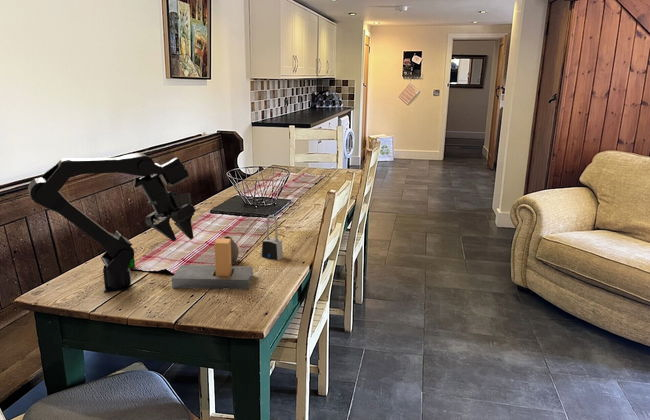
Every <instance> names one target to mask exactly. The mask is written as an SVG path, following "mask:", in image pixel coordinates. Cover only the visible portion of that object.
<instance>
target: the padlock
mask: <svg viewBox="0 0 650 420" xmlns="http://www.w3.org/2000/svg"><path fill="white" fill-rule="evenodd" d="M270 218H273V219H274V223H275V224H274V225H275V237H274V238H273V237H270ZM261 244H262V245H261V255H260V257H261V258H263V259H267V260H271V261H272V260H273V261H280V260H281V259H283V258H284V253H283V252H284V251H283V240H280V239H278V219H277V217H276V216H274V215H273V214H270V215H268V216H267V217H266V238H265V239H263V240H261Z"/></svg>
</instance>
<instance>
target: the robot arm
mask: <svg viewBox="0 0 650 420" xmlns="http://www.w3.org/2000/svg"><path fill="white" fill-rule="evenodd" d="M116 173H117V174H119V173H120V174H126V175H131V176H136V177H133V183H132V187H133V188H138V187H139V186H140V187H141V189H142V190H143V193H144V194H145V196H146V198H147V199H148V201H147V205H148V206H152V208H153V209H154V211H152V212H151V213H149V214H147V215H146V216H145V219H144V222H145V224H146V225H147V227H150V228H151V229H153V230H155V231H158V232H159V233H161V235H163V236H165V237H166V238H167V239H169V240H171V241H172V242H175V241H176V240H177V238H176V235H175V232H174V231H173V228H172V226H171V224H170V222H171V221H170V220H172V221H173V222H174V223H173V224H174V225H175V226H176V227H177V229H179V230H180V231H181V232H182V233H183V234H184V235H185V236H186V237H187V238H188V239H189V240H193V239H194V232H193V231H194V230H193V225H192V219H193V216H194V215H195V213H196V211H197V210H196V208H195V206H194V205H193V204H192V199H191V198H192V197H191V193H190V192H187V193H180V194H178V193H177V192H172V191H168V189H167V188H166V186H168V185H169V186H170V187H173V186H175V185H177V184H179V183H181V182H183V181H185V180H187V179H188V178H189V177H190V174H189V171H188V169H187V168H186V167H185V166H184V164H183V163H182V161H180V158H179V157H174V158H172V159H170V160H169V161H167V162H165V163H163V164H159V163H157V162H154V160H153V159H152V158H151V156H148V155H147V154H144V153H143V152H135V153H129V154H128V153H127V154H125V155H122V156H117V157H95V158H94V157H93V158H92V157H91V158H89V157H88V158H85V157H84V158H68V157H64V158H61V159H60V160H59V161H58V162H57V163H55V165H54V166H52V167H51V168H49V169H48V170H47V171H45V172H44V173H43V174H42V175H41V176H40V177H36V178H33V179H32V180H31V181H30V182H29V184H28V187H27V190H28V194H29V196H30V198H31V200H32V201H33V202H34V203H35V204H38V205H40V206H41V207H44V208H45V209H48V210H50V211H52V212H55V213H56V214H57V213H58V214H59V215H61V217H63V218H65V220H68V222H70V223H71V224H73V225H74V226H75V227H77V228H78V229H79V230H81V231H82V232H83V233H85V234H86V235H87V236H89V237H90V238H91V239H93V241H96V242H97V244H99V245H100V246H101V248H103V249H104V251H105V252H104V253H103V255H101V256H100V260H101V261H102V262H103V264H104V266H103V269H102V272H103V282H104V283H103V284H104V288H103V292H116V291H127V290H129V289H130V286H131V284H132V276H131V268H129V269H128V266H129V263H130V261H131V260H132V259H133V258H134V259H135V249H134V248H133V247H132V246H133V243H132V242H131V241H130V240H129V239H128V238H127V237H125V236H123V235H122V234H121V233H120V232H119V231H118V230H115V232H114V233H112V232H109V231H108V230H106V229H105V228H103V227H102V226H101V225H100V224H99V223H97V222H96V221H95V220H94V219H92V218H91V217H90V216H88V215H87V214H86V213H84V212H83V211H82V210H80V209H79V208H78V207H77V206H75V205H74V204H73V203H71V202H70V201H68V199H67V198H66V197H65V196H64V194H63V193H61V191H60V190H61V189H62V188H63V187H64V185H65V184H66V183H67V182H68V180H69V179H70V178H71V177H72V176H73V175H90V174H93V175H94V174H116ZM137 176H138V177H137ZM165 185H166V186H165Z"/></svg>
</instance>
